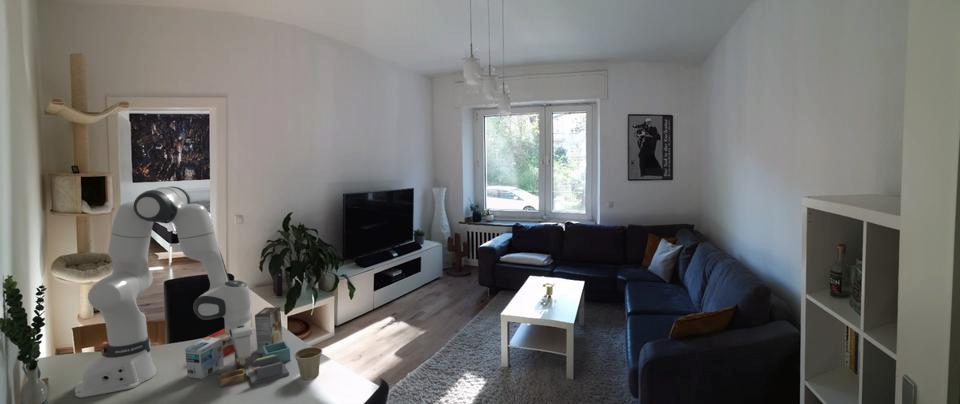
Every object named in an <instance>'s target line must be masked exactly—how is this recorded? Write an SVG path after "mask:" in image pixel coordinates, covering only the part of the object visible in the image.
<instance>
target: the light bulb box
mask: <svg viewBox="0 0 960 404" xmlns="http://www.w3.org/2000/svg"><path fill="white" fill-rule="evenodd" d="M206 337H207V336H206ZM204 338H205V337H204ZM204 338H203V339H201V340H200V341H197V342H196V343H194V344H192V345H190V346H188V347H186V348H185V349H184V351H185V361H186V363H185V365H186V371H187V372H186V373H187V375H186V376H187V378H196V379H205V378H206V377H207V376H209V375H211V374H212V373H214V372H216V371H218V370H219V369H221V368H222V367H224V366H225V362H224V359H225V358H223V345H222V339H221V338H211V337H207V338H205V339H204Z"/></svg>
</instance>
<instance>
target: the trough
mask: <svg viewBox="0 0 960 404" xmlns="http://www.w3.org/2000/svg"><path fill="white" fill-rule="evenodd" d="M247 376H248V375H247V371H246V370H245V369H244V368H242V369H238V370H236V369H235V370H231V371H228V372H224V373H219V374H218V381H219V385H220V388H224V387H227V386H231V385H234V384H239V383H242V382H245V381H247V380H248V377H247Z"/></svg>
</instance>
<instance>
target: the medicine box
mask: <svg viewBox="0 0 960 404" xmlns="http://www.w3.org/2000/svg"><path fill="white" fill-rule="evenodd" d="M207 337H211V338H221V339H222V345H223V359H225V358H227V357H228V356H230V355H232V354H235V353H234V351H235V348H234V345H233V343H232V340H231V336H230V335H229V334H228V333H226V332H225V328H223V329H221V330H219V331H216V332H215V333H212V334H209V335H208V336H207V335H206V337H203V339H205V338H207Z"/></svg>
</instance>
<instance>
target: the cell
mask: <svg viewBox="0 0 960 404" xmlns="http://www.w3.org/2000/svg"><path fill="white" fill-rule="evenodd" d="M233 354H234V365H235V370H238V369H242V368H244V369H245V371H246V370H248V368H249V367H248V365H249V364H248V357H246V358H245V363H244V364H240V363H239V358H238V355H237V353H236V350H235V351H234V353H233Z"/></svg>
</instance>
